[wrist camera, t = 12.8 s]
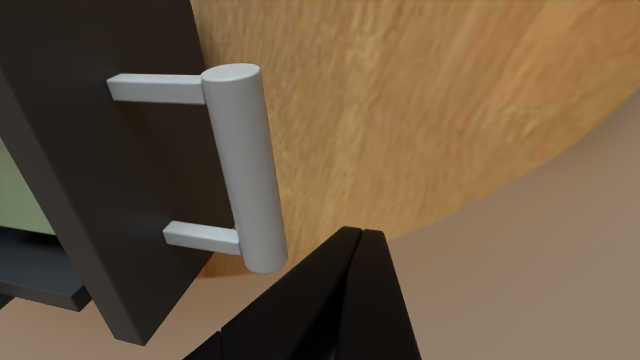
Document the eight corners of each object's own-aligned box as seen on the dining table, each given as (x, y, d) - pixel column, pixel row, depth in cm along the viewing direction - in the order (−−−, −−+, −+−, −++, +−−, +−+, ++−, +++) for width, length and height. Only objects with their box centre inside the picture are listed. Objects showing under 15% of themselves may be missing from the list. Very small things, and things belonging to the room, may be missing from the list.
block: (126, 65, 13) (9, 112, 10) (162, 171, 16) (78, 239, 12) (33, 65, 15) (-99, 106, 11) (80, 163, 17) (-18, 223, 13)
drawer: (306, -47, 11) (160, -32, 5) (326, 230, 16) (264, 378, 11) (-79, -19, 15) (-372, 6, 10) (38, 191, 21) (-108, 282, 15)
